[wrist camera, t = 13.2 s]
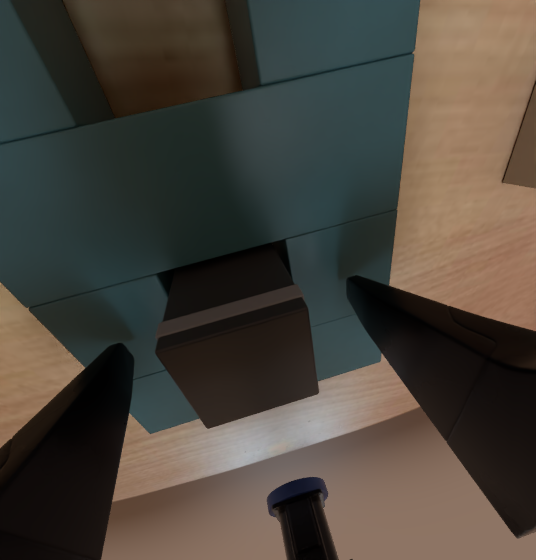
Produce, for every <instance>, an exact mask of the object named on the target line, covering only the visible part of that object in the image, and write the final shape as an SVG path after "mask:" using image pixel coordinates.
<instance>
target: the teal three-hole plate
mask: <svg viewBox="0 0 536 560" xmlns="http://www.w3.org/2000/svg"><path fill="white" fill-rule="evenodd" d="M225 2H226V8H227V13H228V18H229V23H230V28H231V33H232V38H233V43H234V48H235V53H236V58H237V64H238V69H239V74H240V79H241V84H242V89H243V91H238V92H234V93H229V94H224V95H220V96H215V97H211V98H206V99H202V100H197V101H193V102H188V103H184V104H179V105H175V106H170V107H165V108H161V109H156V110H152V111H147V112H143V113H138V114H134V115H129V116H125V117H120V118H116V119H115V117H114V115H113V113H112V110H111V108H110V106H109V104H108V102H107V99H106V97H105V95H104V93H103V91H102V88H101V86H100V84H99V82H98V80H97V77H96V75H95V73H94V71H93V69H92V66H91V64H90V62H89V60H88V58H87V55H86V53H85V51H84V49H83V47H82V44H81V42H80V40H79V38H78V36H77V33H76V31H75V29H74V27H73V25H72V22H71V20H70V18H69V16H68V14H67V11H66V9H65V7H64V5H63V3H62V0H0V282H1V283H2V284H3V285H4V286H5V287H6V288H7V289H8V290H9V291H10V292H11V293H12V294H13V295H14V296H15V297H16V298H17V299H18V300H19V301H20V302H21V303H22V304H23V305H24V306H25V307H26V308H29V311H30V312H31V313H32V314H33V315H34V316H35V317H36V318H37V319H38V320H39V321H40V322H41V323H42V324H43V325H44V326H45V327H46V328H47V329H48V330H49V331H50V332H51V333H52V334H53V335H54V336H55V337H56V338H57V339H58V340H59V341H60V342H61V344H62V345H63V346H64V347H65V348H66V349H67V350H68V351H69V352H70V353H71V354H72V355H73V356H74V357H75V358H76V359H77V360H78V361H79V362H80V363H81V364H82V365H83V366H84V367H85V368H86V367H87V366H88V365H89V364H90V363H91V362H92V361H93V360H95V359H96V358H97V357H98V356H99V355H100V354H101V353H102V352H103V351H104V350H105V349H106V348H107V347H108V346H110V345H113V344H116V343H123V344H124V345H125V346H126V347H127V349H128V350H129V351H130V352H131V354H132V355H133V357H134V361H135V363H134V376H133V389H132V399H131V405H130V411H129V413H130V414H131V415H132V416H133V417H134V418H135V419H136V420H137V421H138V422H139V423H140V424H141V425H142V426H143V427H144V428H145V429H146V430H147V431H148V432H149V433H150V434H152V433H155V432H158V431H161V430H164V429H168V428H171V427H174V426H177V425H180V424H184V423H187V422H190V421H193V420H196V419H200V418H199V416H198V415H197V414H196V412H195V411H194V409H193V408H192V406H191V405H190V403H189V402H188V401H187V399H186V398H185V396H184V395H183V393H182V392H181V390H180V389H179V387H178V386H177V385H176V383H175V382H174V380H173V379H172V377H171V376H170V374H169V373H168V372H167V370H166V369H165V367H164V366H163V364H162V363H161V361H160V360H159V359H158V357H157V356H156V354H155V349H156V345H157V340H156V338H155V336H156V332H157V328H158V324H159V323H161V322H162V321H163V316H164V312H165V308H166V304H167V300H168V296H169V292H170V288H171V284H172V280H173V276H174V272H175V268H178V267H182V266H186V265H189V264H193V263H197V262H201V261H204V260H208V259H212V258H216V257H219V256H223V255H227V254H231V253H234V252H238V251H242V250H245V249H249V248H253V247H257V246H260V245H264V244H268V243H272V242H273V246H274V248H275V250H276V251H277V253H278V255H279V257H280V259H281V260H282V262H283V264H284V266H285V268H286V269H287V271H288V273H289V275H290V276H291V278H292V280H293V282H294V284H297V285H298V286H299V288H300V289H301V291H302V293H303V295H304V301H305V303H306V305H307V307H308V310H309V318H310V326H311V334H312V341H313V349H314V357H315V365H316V373H317V381H321V380H324V379H327V378H330V377H333V376H336V375H340V374H343V373H346V372H349V371H352V370H356V369H359V368H362V367H365V366H368V365H371V364H375V363H378V362H380V361H381V351H380V350H379V348H378V347H377V346H376V344H375V343H374V342H373V340H372V339H371V337H370V336H369V335H368V333H367V332H366V330H365V329H364V327H363V325H362V324H361V322H360V320H359V318H358V317H357V315H356V313H355V311H354V309H353V308H352V306H351V304H350V302H349V301H348V299H347V295H346V279H347V278H348V277H351V276H354V275H358V276H361V277H364V278H367V279H370V280H373V281H376V282H379V283H382V284H385V285H388V286H389V281H390V272H391V263H392V254H393V245H394V236H395V227H396V218H397V206H398V197H399V188H400V179H401V170H402V161H403V152H404V143H405V134H406V125H407V116H408V107H409V98H410V89H411V80H412V71H413V62H414V54H412V52H414V50H415V43H416V34H417V25H418V16H419V7H420V0H225Z"/></svg>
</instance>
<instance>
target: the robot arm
mask: <svg viewBox="0 0 536 560" xmlns="http://www.w3.org/2000/svg"><path fill="white" fill-rule="evenodd" d="M346 295H347V299H348V301H349V302H350V304H351V306H352V308H353V309H354V311H355V313H356V315H357V317H358V318H359V320H360V322H361V324H362V325H363V327H364V329H365V330H366V332H367V333H368V335H369V336H370V337H371V339H372V340H373V342H374V343H375V344H376V346H377V347H378V348H379V350H380V351H381V353H382V354H383V355H384V357H385V358H386V359H387V361H388V362H389V364H390V365H391V366H392V368H393V369H394V370H395V372H396V373H397V375H398V376H399V377H400V379H401V380H402V381H403V383H404V384H405V386H406V387H407V388H408V390H409V391H410V393H411V394H412V395H413V397H414V398H415V399H416V401H417V402H418V404H419V405H420V406H421V408H422V409H423V410H424V412H425V413H426V415H427V416H428V417H429V419H430V420H431V421H432V423H433V424H434V426H435V427H436V428H437V429H438V431H439V432H440V434H441V435H442V436H443V438H444V439H445V440H446V441H447V444H448V445H449V447H450V448H451V449H452V451H453V452H454V453H455V455H456V456H457V458H458V459H459V460H460V462H461V463H462V464H463V466H464V467H465V469H466V470H467V471H468V473H469V474H470V475H471V477H472V478H473V480H474V481H475V482H476V484H477V485H478V486H479V488H480V489H481V491H482V492H483V493H484V495H485V496H486V498H487V499H488V500H489V502H490V503H491V504H492V506H493V507H494V508H495V510H496V511H497V513H498V514H499V515H500V517H501V518H502V520H503V521H504V522H505V524H506V525H507V526H508V528H509V529H510V530H511V532H512V533H513V534H514V535H515V537H516V538H521V537H523V536H526V535H529V534H531V533H534V532H536V331H533V330H529V329H525V328H522V327H518V326H514V325H511V324H507V323H503V322H500V321H496V320H493V319H489V318H486V317H482V316H479V315H476V314H473V313H469V312H466V311H463V310H460V309H457V308H454V307H451V306H447V305H445V304H442V303H439V302H436V301H433V300H430V299H427V298H424V297H421V296H418V295H415V294H412V293H409V292H406V291H403V290H400V289H397V288H394V287H391V286H388V285H385V284H382V283H379V282H376V281H373V280H370V279H367V278H364V277H361V276H358V275H354V276H351V277H348V278H347V279H346ZM134 363H135V361H134V357H133V355H132V354H131V352H130V351H129V350H128V349H127V347H126V346H125V345H124V344H123V343H116V344H113V345H110V346H108V347H107V348H106V349H105V350H104V351H103V352H102V353H101V354H100V355H99V356H98V357H97V358H96V359H95V360H93V361H92V362H91V363H90V364H89V365H88V366H87V367H86V368H85V369H84V370H83V371H82V372H81V373H80V374H79V375H78V376H77V377H75V378H74V379H73V380H72V381H71V382H70V383H69V384H68V385H67V386H66V387H65V388H64V389H63V390H62V391H61V392H60V393H58V394H57V395H56V396H55V397H54V398H53V399H52V400H51V401H50V402H49V403H48V404H47V405H46V406H45V407H44V408H43V409H42V410H40V411H39V412H38V413H37V414H36V415H35V416H34V417H33V418H32V419H31V420H30V421H29V422H28V423H27V424H26V425H25V426H23V427H22V428H21V429H20V430H19V431H18V432H17V433H16V434H15V435H14V436H13V437H12V439H10V440H9V441H7V442H6V443H5V444H4V445H3V446H2V447H1V448H0V560H101V557H102V551H103V546H104V541H105V535H106V530H107V524H108V520H109V515H110V510H111V504H112V499H113V494H114V489H115V484H116V479H117V473H118V468H119V463H120V458H121V452H122V447H123V442H124V437H125V432H126V426H127V421H128V416H129V411H130V405H131V399H132V389H133V376H134ZM324 507H325V503H324V498H323V493H322V490H321V489H316V490H313V491H310V492H307V493H304V494H302V495H299V496H296V497H293V498H290V499H287V500H284V501H281V502H278V503H276V504H273V505H272V511H273V513H274V514H275V516H276V518H277V519H278V521H279V522H280V524H281V530H282V535H283V540H284V546H285V552H286V557H287V560H339V559H338V556H337V552H336V549H335V546H334V542H333V539H332V536H331V533H330V529H329V526H328V523H327V519H326V516H325V513H324V509H323V508H324ZM350 560H352V559H350Z"/></svg>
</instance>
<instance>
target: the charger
mask: <svg viewBox="0 0 536 560" xmlns="http://www.w3.org/2000/svg"><path fill="white" fill-rule="evenodd" d="M155 338H156V340H157V345H156V349H155V354H156V356H157V357H158V359H159V360H160V361H161V363H162V364H163V366H164V367H165V369H166V370H167V372H168V373H169V374H170V376H171V377H172V379H173V380H174V382H175V383H176V385H177V386H178V387H179V389H180V390H181V392H182V393H183V395H184V396H185V398H186V399H187V401H188V402H189V403H190V405H191V406H192V408H193V409H194V411H195V412H196V414H197V415H198V416H199V418H200V419H201V421H202V422H203V424H204V425H205V427H206V428H207V429H209V428H212V427H216V426H219V425H222V424H225V423H228V422H231V421H235V420H238V419H241V418H244V417H247V416H250V415H253V414H257V413H260V412H263V411H266V410H269V409H272V408H275V407H279V406H282V405H285V404H288V403H291V402H294V401H297V400H301V399H304V398H307V397H310V396H313V395H316V394H318V393H319V389H318V381H317V373H316V365H315V357H314V349H313V341H312V334H311V326H310V318H309V310H308V307H307V305H306V303H305V301H304V295H303V293H302V291H301V289H300V288H299V286H298V285H297V284H294V282H293V280H292V278H291V276H290V275H289V273H288V271H287V269H286V268H285V266H284V264H283V262H282V260H281V259H280V257H279V255H278V253H277V251H276V250H275V248H274V246H273V244H272V243H268V244H264V245H260V246H257V247H253V248H249V249H245V250H242V251H238V252H234V253H231V254H227V255H223V256H219V257H216V258H212V259H208V260H204V261H201V262H197V263H193V264H189V265H186V266H182V267H178V268H175V272H174V276H173V280H172V284H171V288H170V292H169V296H168V300H167V304H166V308H165V312H164V316H163V321H162V322H161V323H159V324H158V328H157V332H156V336H155Z"/></svg>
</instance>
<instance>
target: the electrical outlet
mask: <svg viewBox="0 0 536 560" xmlns="http://www.w3.org/2000/svg"><path fill="white" fill-rule="evenodd" d="M503 183H507V184H513V185H519V186H525V187H530V188H536V85H535V88H534V91H533V94H532V97H531V100H530V103H529V106H528V109H527V112H526V115H525V118H524V121H523V124H522V127H521V130H520V133H519V136H518V139H517V142H516V145H515V148H514V151H513V154H512V157H511V160H510V163H509V166H508V168H507V171H506V174H505V177H504V180H503Z"/></svg>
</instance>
